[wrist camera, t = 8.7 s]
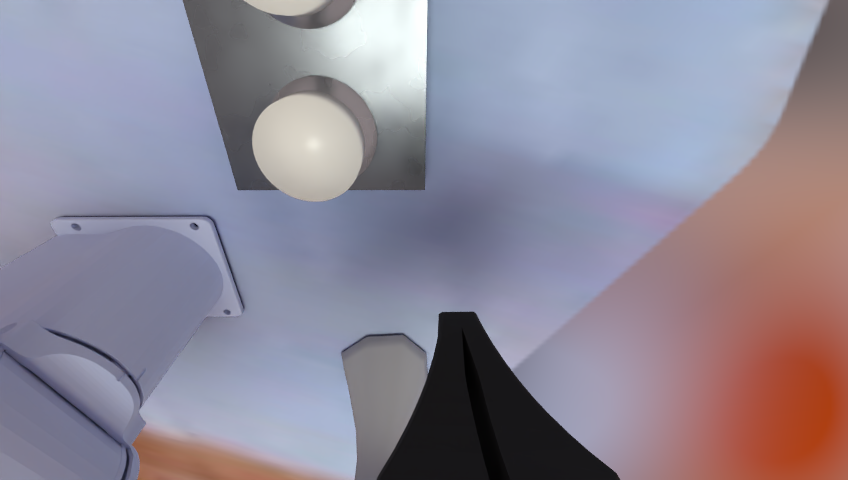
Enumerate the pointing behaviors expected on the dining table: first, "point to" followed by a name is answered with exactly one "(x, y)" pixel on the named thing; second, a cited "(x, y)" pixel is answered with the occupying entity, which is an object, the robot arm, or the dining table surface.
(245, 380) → the dining table surface
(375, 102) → the mount
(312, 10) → the knob middle
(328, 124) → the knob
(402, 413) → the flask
